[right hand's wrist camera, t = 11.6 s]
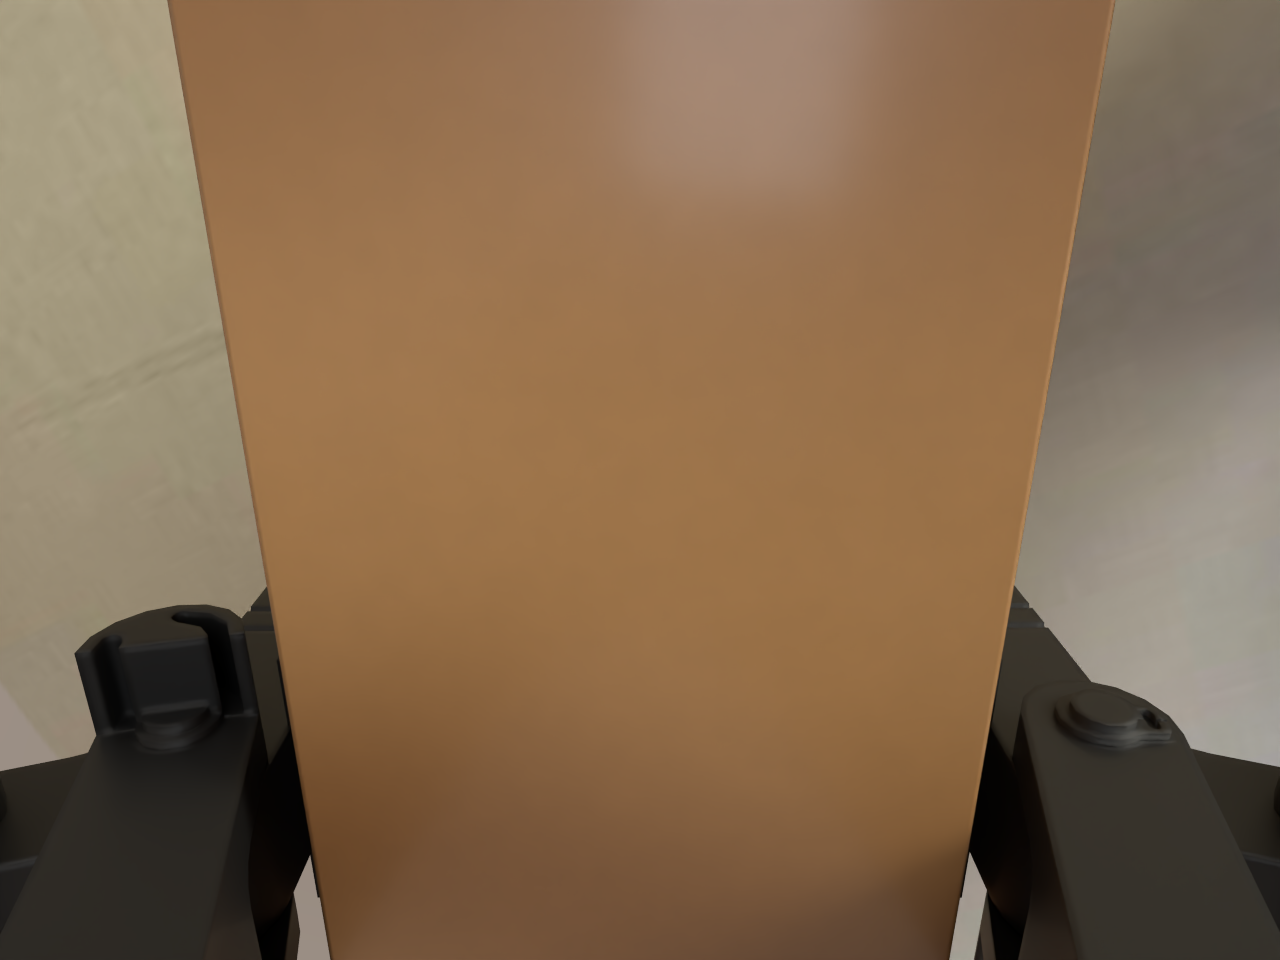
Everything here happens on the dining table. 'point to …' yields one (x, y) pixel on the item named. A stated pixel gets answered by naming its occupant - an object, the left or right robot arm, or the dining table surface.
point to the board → (640, 446)
